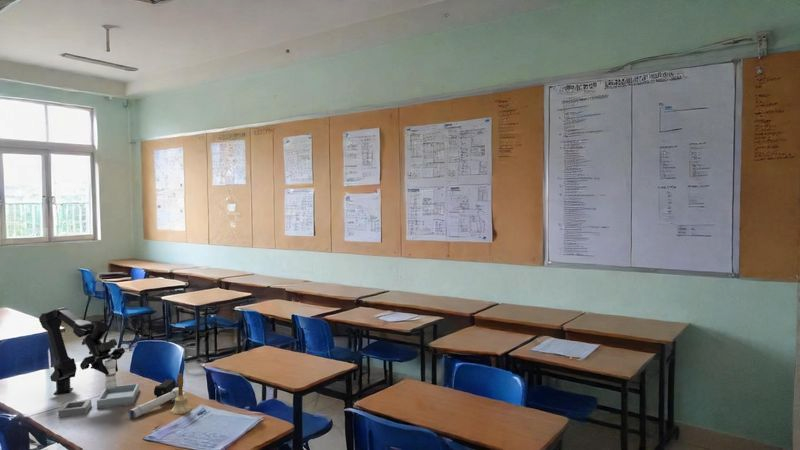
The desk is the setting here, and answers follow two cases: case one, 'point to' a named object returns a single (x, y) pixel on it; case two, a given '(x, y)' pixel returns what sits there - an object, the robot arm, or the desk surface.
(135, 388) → the tray
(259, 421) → the desk surface
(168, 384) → the digital camera
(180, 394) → the hand bell
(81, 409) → the socket block
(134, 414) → the white long bar
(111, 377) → the light bulb
